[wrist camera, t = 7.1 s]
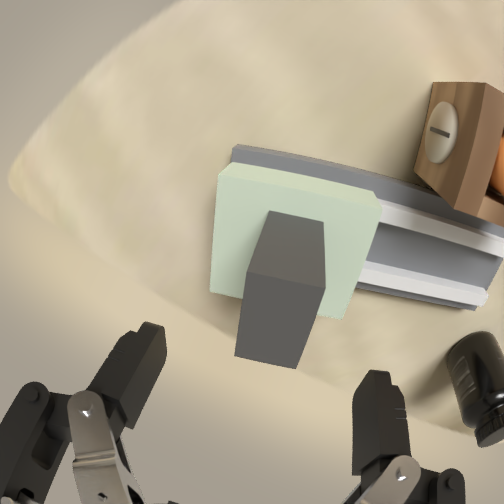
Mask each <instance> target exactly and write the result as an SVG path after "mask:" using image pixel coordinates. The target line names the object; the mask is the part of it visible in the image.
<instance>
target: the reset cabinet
mask: <svg viewBox="0 0 504 504" xmlns="http://www.w3.org/2000/svg"><path fill="white" fill-rule="evenodd" d="M503 130H504V93H502V92H501V91H499V90H497V89H496V88H494V87H492V86H490V85H489V84H487V83H478V82H433V87H432V93H431V98H430V103H429V108H428V113H427V117H426V122H425V126H424V131H423V135H422V139H421V143H420V147H419V151H418V155H417V158H416V162H415V166H414V169H413V171H414V172H415V173H416V174H417V175H419V176H420V177H421V178H422V179H423V180H424V181H425V182H426V183H427V184H429V185H430V186H431V187H432V188H433V189H434V190H435V191H436V192H437V193H438V194H439V195H440V196H441V197H442V198H443V199H444V200H445V201H446V202H447V203H448V204H449V205H450V206H451V207H452V208H453V209H456V210H459V211H462V212H464V213H467V214H470V215H473V216H475V217H478V218H481V219H483V220H486V221H489V222H491V223H494V224H496V225H499V226H501V227H504V196H503V195H502V194H501V193H499V192H498V191H497V190H495V189H494V188H492V187H491V186H490V185H488V183H489V180H490V177H491V174H492V171H493V167H494V164H495V160H496V156H497V153H498V149H499V145H500V141H501V137H502V132H503Z"/></svg>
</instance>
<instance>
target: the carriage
mask: <svg viewBox="0 0 504 504" xmlns="http://www.w3.org/2000/svg"><path fill="white" fill-rule="evenodd" d="M382 210H383V209H382V207H381V205H380V203H379V201H378V199H377V197H376V196H375V194H374V192H373V191H369V190H366V189H362V188H358V187H354V186H350V185H345V184H341V183H337V182H333V181H328V180H324V179H320V178H315V177H310V176H306V175H301V174H296V173H291V172H286V171H281V170H276V169H270V168H265V167H259V166H254V165H248V164H242V163H236V162H232V163H231V164H229V165H228V166H227V167H226V168H225V169H224V170H223V171H222V172H221V173H220V174H218V184H217V195H216V207H215V219H214V231H213V245H212V259H211V275H210V292H214V293H218V294H223V295H227V296H231V297H236V298H240V299H242V306H241V313H240V320H239V327H238V334H237V341H236V348H235V355H234V356H237V357H241V358H246V359H250V360H254V361H258V362H263V363H268V364H272V365H277V366H282V367H287V368H292V369H296V367H297V365H298V362H299V360H300V357H301V355H302V352H303V350H304V347H305V345H306V342H307V339H308V337H309V334H310V331H311V329H312V326H313V323H314V321H315V318H316V315H320V316H325V317H330V318H336V319H341V320H342V318H343V316H344V313H345V311H346V309H347V306H348V304H349V301H350V299H351V296H352V294H353V291H354V289H355V286H356V284H357V281H358V279H359V276H360V274H361V271H362V268H363V266H364V263H365V260H366V257H367V255H368V252H369V249H370V246H371V243H372V241H373V238H374V235H375V232H376V229H377V226H378V223H379V220H380V217H381V214H382Z"/></svg>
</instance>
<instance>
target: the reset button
mask: <svg viewBox="0 0 504 504" xmlns="http://www.w3.org/2000/svg"><path fill="white" fill-rule="evenodd" d="M488 185H490V186H491V187H492V188H494V189H495V190H497V191H498V192H499V193H501V194H502V195H503V196H504V130H503V132H502V137H501V141H500V145H499V149H498V153H497V156H496V160H495V164H494V167H493V171H492V174H491V177H490V180H489V183H488Z"/></svg>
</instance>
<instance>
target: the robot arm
mask: <svg viewBox="0 0 504 504" xmlns="http://www.w3.org/2000/svg"><path fill="white" fill-rule="evenodd" d="M166 356H167V347H166V338H165V329H164V327H163V326H160V325H156V324H153V323H150V322H144V323H143V324H142V325H141V327H140V329H139V330H138V332H134V331H129V332H127V333H126V334H125V335H123V336H122V337H120V339H119V340H118V342H117V343H116V345H115V346H114V348H113V350H112V351H111V352H110V354H109V355H108V358H106V360H105V361H104V363H103V365H102V366H101V368H100V369H99V371H98V373H97V374H96V376H95V377H94V379H93V380H92V382H91V384H90V385H89V386H88V388H87V389H86V390H83V391H79V392H77V393H75V394H74V395H65V394H59V393H53V392H49V391H48V389H47V388H46V387H45V386H44V385H43V384H41V383H39V382H30V383H27V384H26V385H24V386H23V387H22V389H21V390H20V391H19V393H18V395H17V396H16V398H15V399H14V401H13V403H12V405H11V406H10V408H9V410H8V411H7V413H6V415H5V417H4V418H3V420H2V422H1V424H0V504H44V501H45V499H46V496H47V493H48V491H49V489H50V486H51V484H52V481H53V479H54V476H55V474H56V472H57V470H58V467H59V465H60V463H61V460H62V458H63V456H64V454H65V451H66V449H67V447H68V445H69V443H70V442H73V447H74V452H75V460H74V461H73V464H72V465H73V466H72V467H73V473H74V477H75V481H76V485H77V489H78V492H79V496H80V499H81V503H82V504H146V502H145V500H144V497H143V494H142V492H141V489H140V487H139V485H138V483H137V481H136V479H135V477H134V474H133V472H132V469H131V466H130V463H129V460H128V457H127V453H126V450H125V447H124V444H123V440H122V437H121V433H122V431H123V429H124V427H128V428H130V429H133V428H134V426H135V424H136V422H137V420H138V418H139V416H140V414H141V411H142V409H143V407H144V405H145V403H146V401H147V399H148V397H149V395H150V393H151V390H152V388H153V386H154V384H155V382H156V380H157V378H158V376H159V374H160V372H161V370H162V368H163V366H164V364H165V361H166ZM352 415H353V416H352V418H353V454H352V475H357V476H358V475H360V476H361V482H360V483H359V484H358V485H357V486H356V487H355V488H354V490H353V491H352V492H351V493H350V494H349V495H348V496H347V497H346V499H345V500H344V501H343V502H342V503H341V504H465V482H464V477H463V475H462V474H461V473H460V471H458V470H456V469H453V468H452V469H451V468H450V469H447V470H445V471H443V472H442V473H438V472H434V471H430V470H427V469H424V468H421V467H420V465H419V464H418V462H417V461H416V460H415V459H414V458H412V456H411V451H410V443H409V432H408V424H407V420H406V417H407V416H406V410H405V402H404V396H403V394H402V393H401V391H400V389H399V387H398V386H395V385H392V383H391V376H390V373H389V372H388V371H379V370H369V371H368V373H367V374H366V376H365V377H364V379H363V380H362V382H361V383H360V385H359V386H358V388H357V389H356V391H355V393H354V396H353V402H352ZM168 504H178V503H175V502H172V501H169V502H168Z"/></svg>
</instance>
